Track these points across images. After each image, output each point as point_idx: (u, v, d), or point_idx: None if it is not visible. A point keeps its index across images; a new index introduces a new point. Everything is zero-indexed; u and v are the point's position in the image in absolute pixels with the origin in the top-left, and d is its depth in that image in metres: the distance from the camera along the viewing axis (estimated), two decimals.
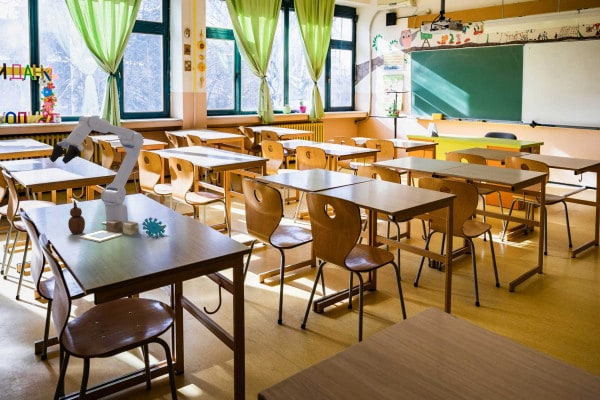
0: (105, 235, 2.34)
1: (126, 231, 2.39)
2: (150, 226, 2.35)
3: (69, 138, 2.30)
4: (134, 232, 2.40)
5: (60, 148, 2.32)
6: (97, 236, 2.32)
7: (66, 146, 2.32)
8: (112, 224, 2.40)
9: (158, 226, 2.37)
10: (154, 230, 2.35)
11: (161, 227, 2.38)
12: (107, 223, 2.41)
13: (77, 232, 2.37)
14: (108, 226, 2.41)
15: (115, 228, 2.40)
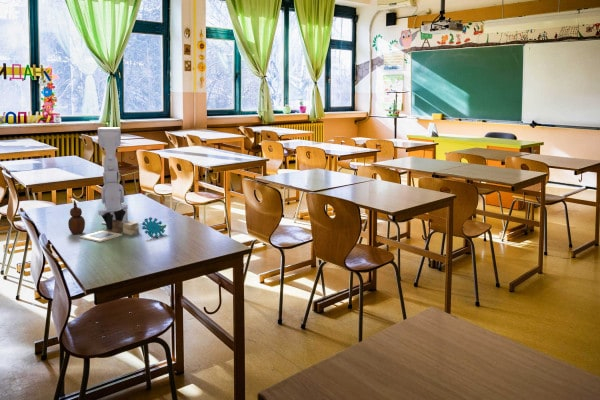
0: (105, 235, 2.34)
1: (126, 231, 2.39)
2: (150, 226, 2.35)
3: (118, 205, 2.40)
4: (134, 232, 2.40)
5: None
6: (97, 236, 2.32)
7: None
8: (112, 224, 2.40)
9: (158, 226, 2.37)
10: (154, 230, 2.35)
11: (161, 227, 2.38)
12: None
13: (77, 232, 2.37)
14: None
15: (115, 227, 2.40)
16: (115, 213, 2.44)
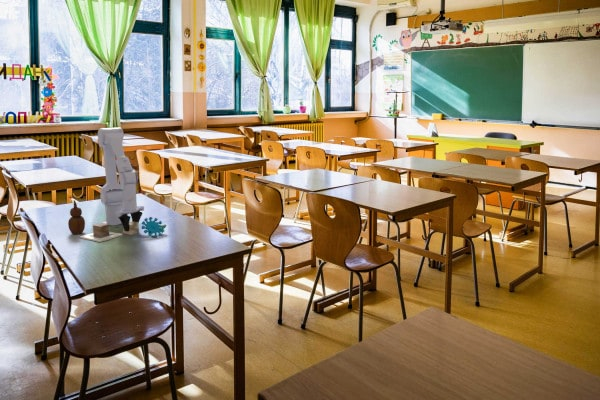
0: None
1: (126, 231, 2.39)
2: (149, 225, 2.35)
3: (135, 206, 2.38)
4: (134, 232, 2.40)
5: None
6: (97, 236, 2.32)
7: None
8: (99, 227, 2.31)
9: (158, 226, 2.38)
10: (153, 230, 2.35)
11: (161, 227, 2.38)
12: (94, 226, 2.33)
13: (77, 232, 2.37)
14: (95, 229, 2.33)
15: (101, 231, 2.32)
16: (132, 214, 2.42)
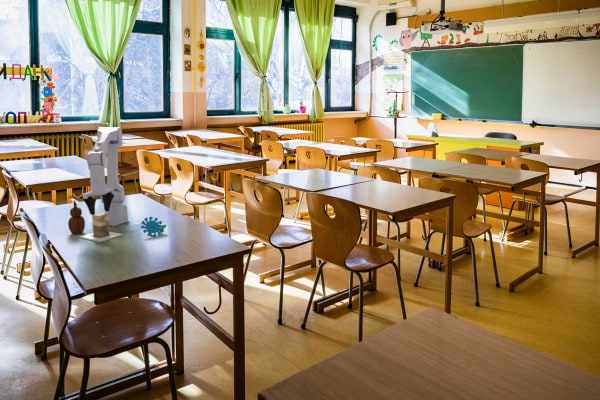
0: None
1: (96, 223, 2.31)
2: (149, 225, 2.36)
3: (104, 188, 2.29)
4: (103, 224, 2.32)
5: None
6: (97, 236, 2.32)
7: None
8: (99, 227, 2.31)
9: (157, 225, 2.38)
10: (152, 229, 2.36)
11: (160, 227, 2.39)
12: (94, 226, 2.33)
13: (77, 232, 2.37)
14: (95, 229, 2.33)
15: (101, 231, 2.32)
16: (103, 196, 2.35)
